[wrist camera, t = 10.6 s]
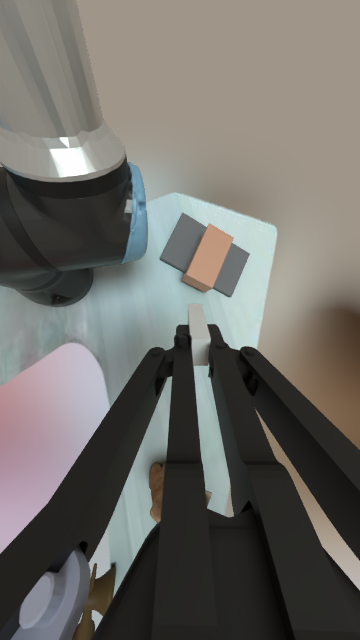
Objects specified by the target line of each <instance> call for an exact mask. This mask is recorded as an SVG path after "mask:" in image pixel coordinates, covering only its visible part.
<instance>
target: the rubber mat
mask: <svg viewBox="0 0 360 640" xmlns="http://www.w3.org/2000/svg"><path fill="white" fill-rule="evenodd" d="M206 228H207V227H205V226H204V225H202V224H201V223H199V222H197V221H196V220H194V219H193V218H191V217H189V216H188V215H186V214H184V213H182V215H181V217H180V219H179V221H178V223H177V225H176V227H175V229H174V231H173V233H172V235H171V237H170V239H169V241H168V243H167V245H166V247H165V249H164V251H163V253H162V255H161V257H160V260H162V261H163V262H165V263H167V264H169V265H171V266H173V267H174V268H176V269H178V270H180V271H182V272H184V273H185V272H186V270H187V268H188V266H189V264H190V261H191V259H192V257H193V255H194V253H195V250H196V248H197V246H198V244H199V241H200V239H201V237H202V235H203V233H204V231H205V230H206ZM249 255H250V254H249V253H248V252H246V251H244V250H243V249H241V248H240V247H238V246H236V245H235V244H233V243H231V245H230V248H229V250H228V253H227V255H226V257H225V260H224V262H223V264H222V267H221V269H220V271H219V274H218V276H217V278H216V281H215V283H214V286H213V289H215V290H217V291H219V292H220V293H222V294H224V295H226V296H228V297H231V296H232V294H233V292H234V289H235V287H236V285H237V283H238V280H239V278H240V276H241V273H242V271H243V269H244V266H245V264H246V262H247V259H248V257H249Z"/></svg>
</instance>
